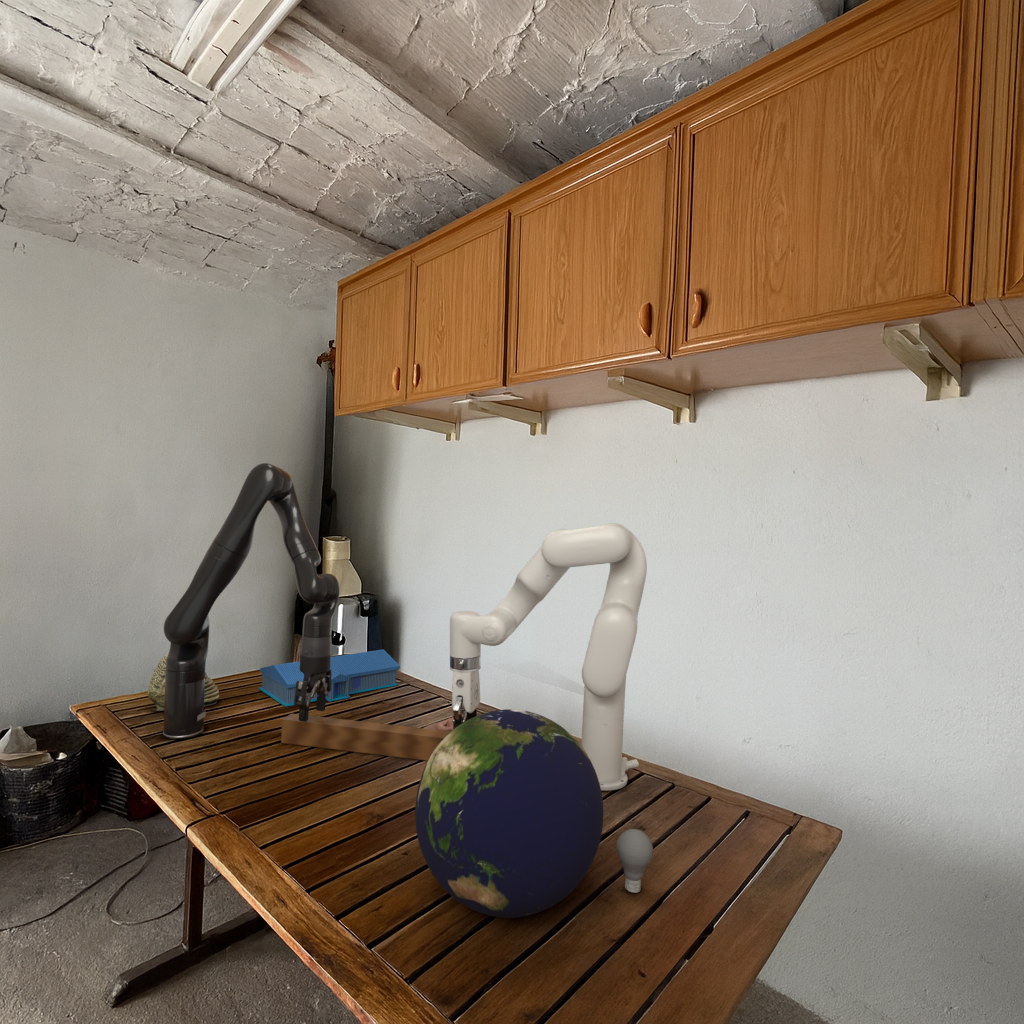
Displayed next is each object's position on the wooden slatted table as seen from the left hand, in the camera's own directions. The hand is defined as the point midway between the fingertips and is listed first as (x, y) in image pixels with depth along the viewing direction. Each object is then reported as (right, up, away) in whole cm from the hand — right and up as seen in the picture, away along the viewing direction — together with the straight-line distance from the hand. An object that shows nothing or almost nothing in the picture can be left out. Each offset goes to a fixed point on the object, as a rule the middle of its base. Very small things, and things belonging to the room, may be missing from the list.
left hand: (312, 715), depth 162 cm
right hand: (+40, -2, -7) cm, 40 cm away
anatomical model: (+33, -9, +12) cm, 36 cm away
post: (+19, -8, -3) cm, 21 cm away
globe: (+50, -11, -60) cm, 79 cm away
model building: (-8, -6, +46) cm, 47 cm away
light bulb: (+71, -11, -56) cm, 91 cm away
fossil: (-45, -5, +23) cm, 51 cm away
